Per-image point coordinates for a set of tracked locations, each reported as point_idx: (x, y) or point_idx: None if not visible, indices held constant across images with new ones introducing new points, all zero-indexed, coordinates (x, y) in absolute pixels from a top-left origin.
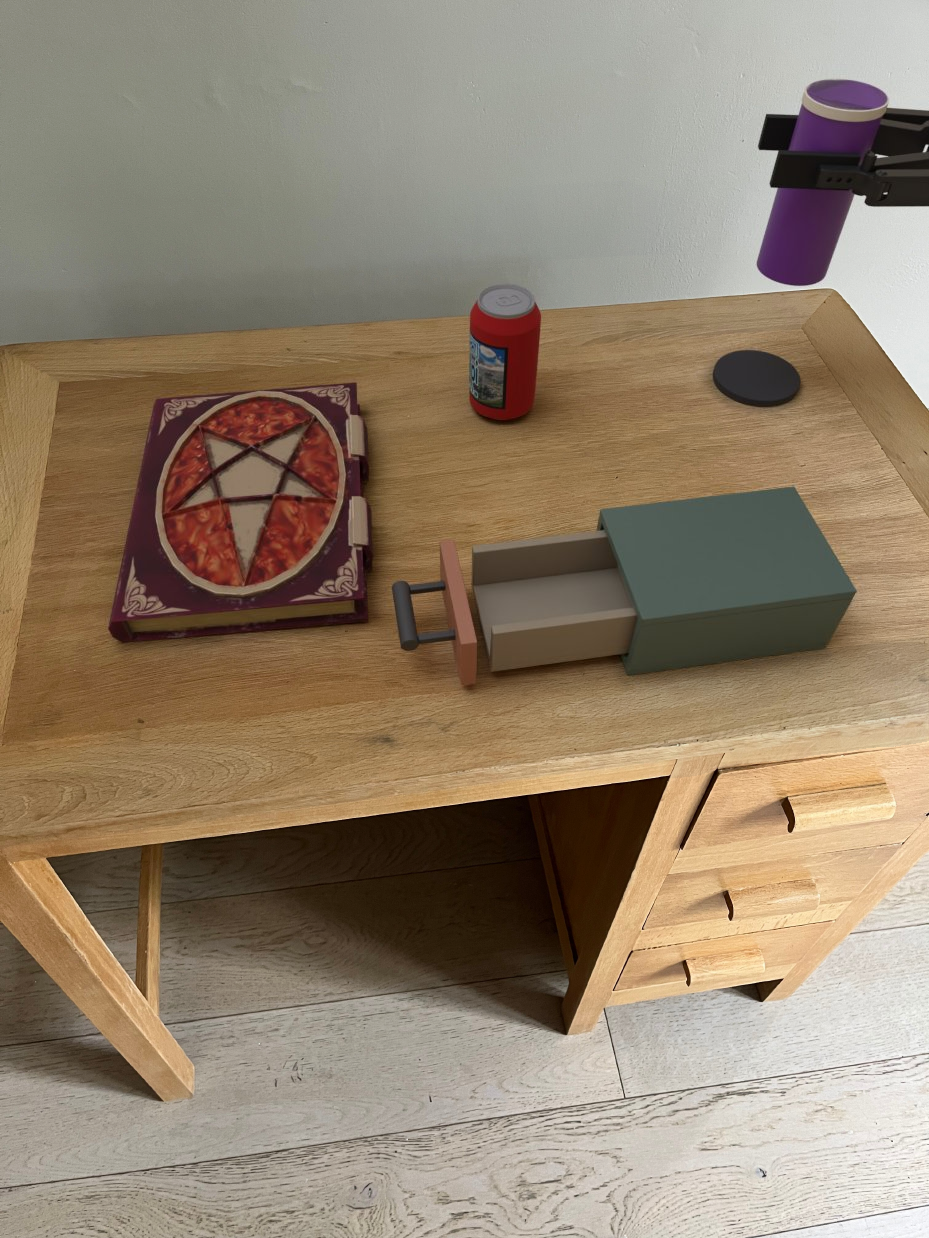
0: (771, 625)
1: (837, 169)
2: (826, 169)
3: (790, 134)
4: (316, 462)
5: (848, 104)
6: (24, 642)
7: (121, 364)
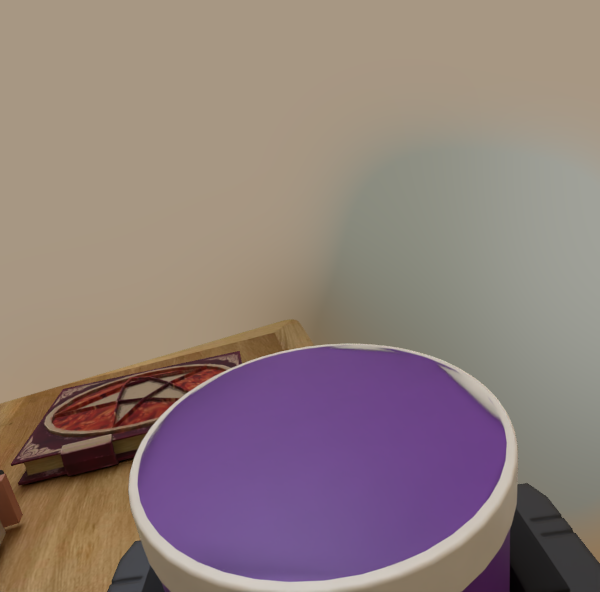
0: None
1: (120, 590)
2: (131, 555)
3: None
4: (153, 411)
5: (207, 426)
6: (85, 380)
7: (293, 340)
